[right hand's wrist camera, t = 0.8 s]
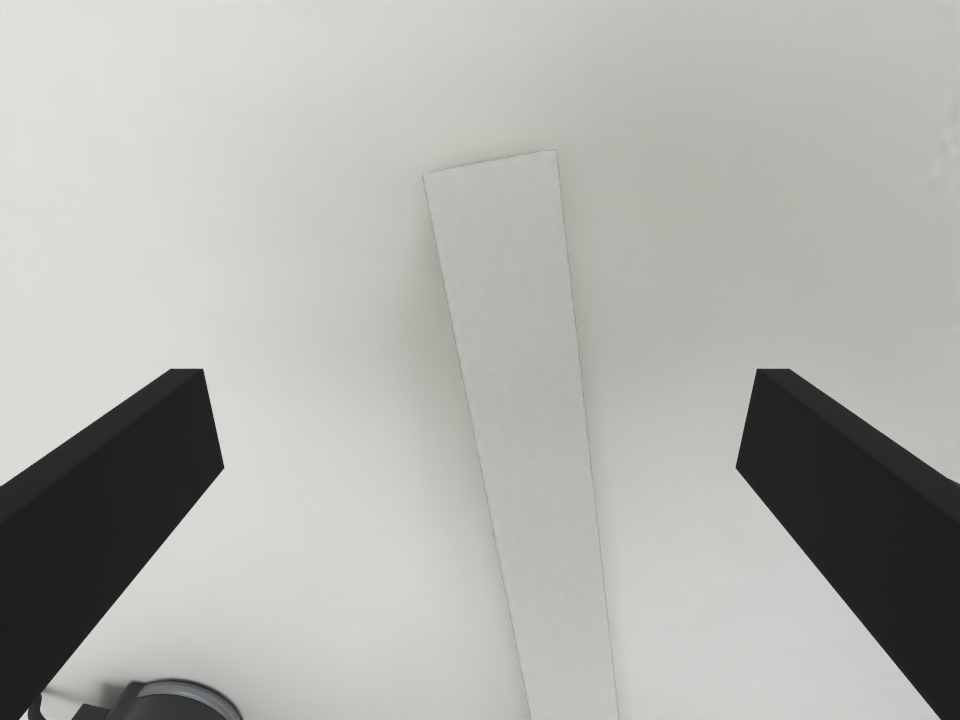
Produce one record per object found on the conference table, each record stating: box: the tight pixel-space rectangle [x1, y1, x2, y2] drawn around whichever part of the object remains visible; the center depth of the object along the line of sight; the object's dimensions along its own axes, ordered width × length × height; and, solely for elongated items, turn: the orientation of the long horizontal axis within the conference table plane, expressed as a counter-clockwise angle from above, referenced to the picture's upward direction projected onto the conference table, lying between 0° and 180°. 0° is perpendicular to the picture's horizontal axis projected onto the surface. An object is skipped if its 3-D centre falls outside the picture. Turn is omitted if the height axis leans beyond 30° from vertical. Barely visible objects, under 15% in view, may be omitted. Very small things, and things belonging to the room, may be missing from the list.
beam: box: [422, 149, 619, 720], centre depth 33 cm, size 59×5×7 cm, turn 10°
